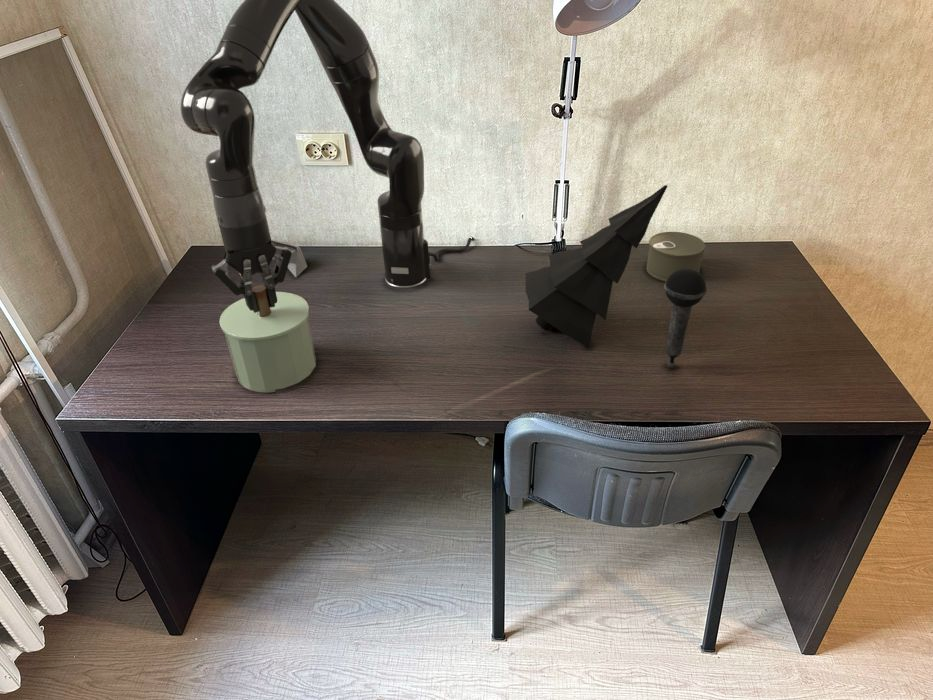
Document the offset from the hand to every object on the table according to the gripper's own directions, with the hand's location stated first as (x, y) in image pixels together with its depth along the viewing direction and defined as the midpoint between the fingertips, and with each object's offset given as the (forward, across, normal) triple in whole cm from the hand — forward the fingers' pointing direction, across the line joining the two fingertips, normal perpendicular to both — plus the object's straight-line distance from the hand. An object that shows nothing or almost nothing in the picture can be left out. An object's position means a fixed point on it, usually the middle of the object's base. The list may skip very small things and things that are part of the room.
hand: (263, 307), depth 118 cm
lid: (+2, 0, 0) cm, 2 cm away
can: (+13, -88, +15) cm, 90 cm away
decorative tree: (+13, -56, +22) cm, 62 cm away
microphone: (+13, -60, +41) cm, 74 cm away
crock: (+13, 0, 0) cm, 13 cm away
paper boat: (+13, -16, -38) cm, 43 cm away
